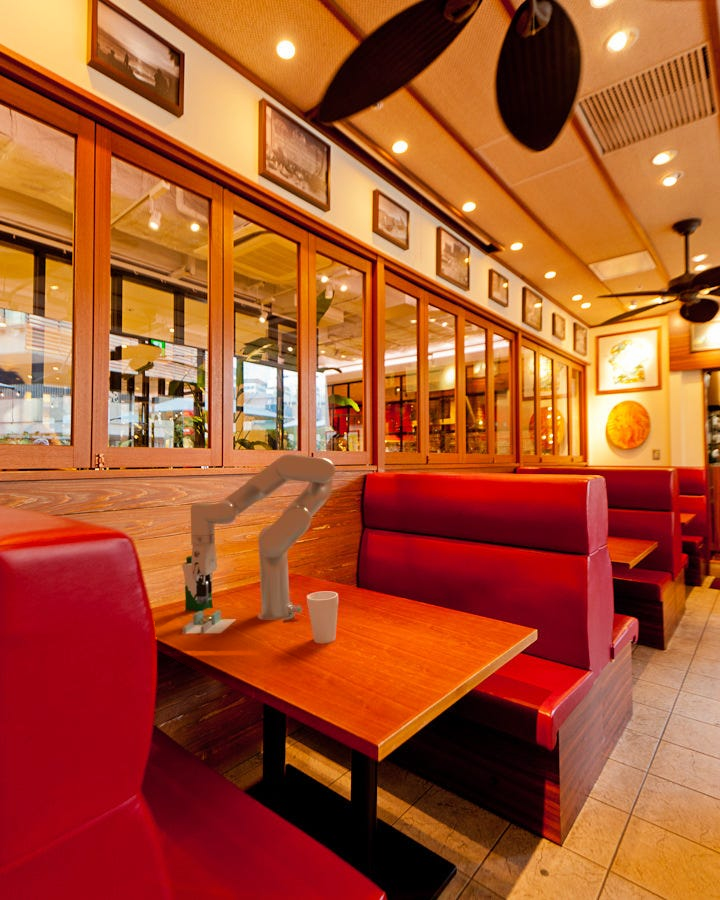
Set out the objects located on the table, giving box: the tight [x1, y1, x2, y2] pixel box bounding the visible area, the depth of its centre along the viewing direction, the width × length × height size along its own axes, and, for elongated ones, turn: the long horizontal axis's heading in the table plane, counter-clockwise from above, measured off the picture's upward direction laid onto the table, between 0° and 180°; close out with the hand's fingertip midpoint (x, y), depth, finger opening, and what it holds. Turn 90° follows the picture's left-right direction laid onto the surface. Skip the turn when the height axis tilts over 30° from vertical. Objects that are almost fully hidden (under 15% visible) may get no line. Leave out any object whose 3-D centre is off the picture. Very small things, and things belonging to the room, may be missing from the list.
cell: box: [197, 580, 208, 604], centre depth 166 cm, size 4×4×8 cm
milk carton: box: [181, 555, 214, 612], centre depth 183 cm, size 9×9×20 cm
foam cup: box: [306, 590, 340, 644], centre depth 147 cm, size 10×9×13 cm
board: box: [180, 610, 236, 635], centre depth 161 cm, size 13×13×4 cm
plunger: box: [201, 614, 212, 622], centre depth 166 cm, size 4×4×1 cm
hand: (204, 594), depth 166 cm, fingers closed on cell, 3 cm apart
